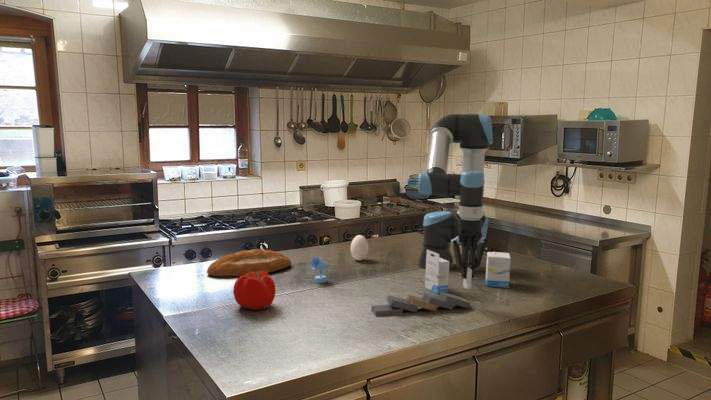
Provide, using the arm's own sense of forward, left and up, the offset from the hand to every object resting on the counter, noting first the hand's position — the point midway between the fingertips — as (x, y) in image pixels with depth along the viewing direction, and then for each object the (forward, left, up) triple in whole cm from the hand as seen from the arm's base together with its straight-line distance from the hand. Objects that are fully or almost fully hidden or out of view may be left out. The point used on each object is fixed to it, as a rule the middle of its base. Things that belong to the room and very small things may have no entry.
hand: (467, 287), depth 175 cm
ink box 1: (-18, -3, -7) cm, 19 cm away
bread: (-57, -68, -7) cm, 89 cm away
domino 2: (0, -18, -5) cm, 19 cm away
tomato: (-14, -69, -7) cm, 71 cm away
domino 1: (0, -24, -6) cm, 24 cm away
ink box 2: (-20, +23, -7) cm, 31 cm away
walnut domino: (0, -12, -6) cm, 13 cm away
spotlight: (-37, -43, -7) cm, 57 cm away
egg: (-64, -20, -7) cm, 67 cm away
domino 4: (0, 0, -6) cm, 6 cm away
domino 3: (0, -6, -6) cm, 8 cm away
